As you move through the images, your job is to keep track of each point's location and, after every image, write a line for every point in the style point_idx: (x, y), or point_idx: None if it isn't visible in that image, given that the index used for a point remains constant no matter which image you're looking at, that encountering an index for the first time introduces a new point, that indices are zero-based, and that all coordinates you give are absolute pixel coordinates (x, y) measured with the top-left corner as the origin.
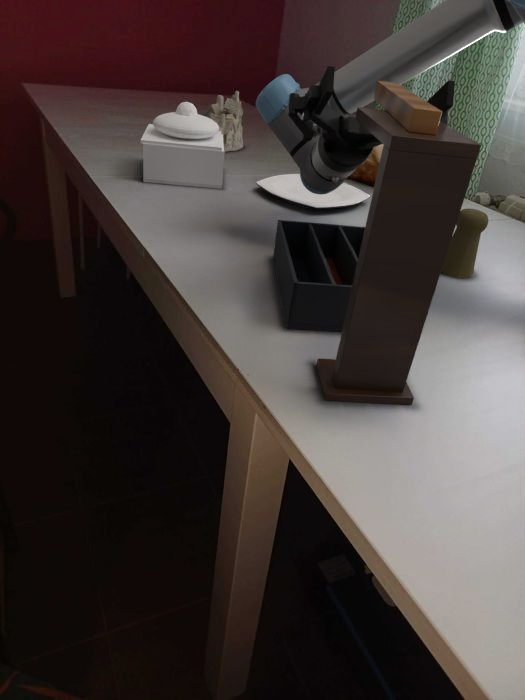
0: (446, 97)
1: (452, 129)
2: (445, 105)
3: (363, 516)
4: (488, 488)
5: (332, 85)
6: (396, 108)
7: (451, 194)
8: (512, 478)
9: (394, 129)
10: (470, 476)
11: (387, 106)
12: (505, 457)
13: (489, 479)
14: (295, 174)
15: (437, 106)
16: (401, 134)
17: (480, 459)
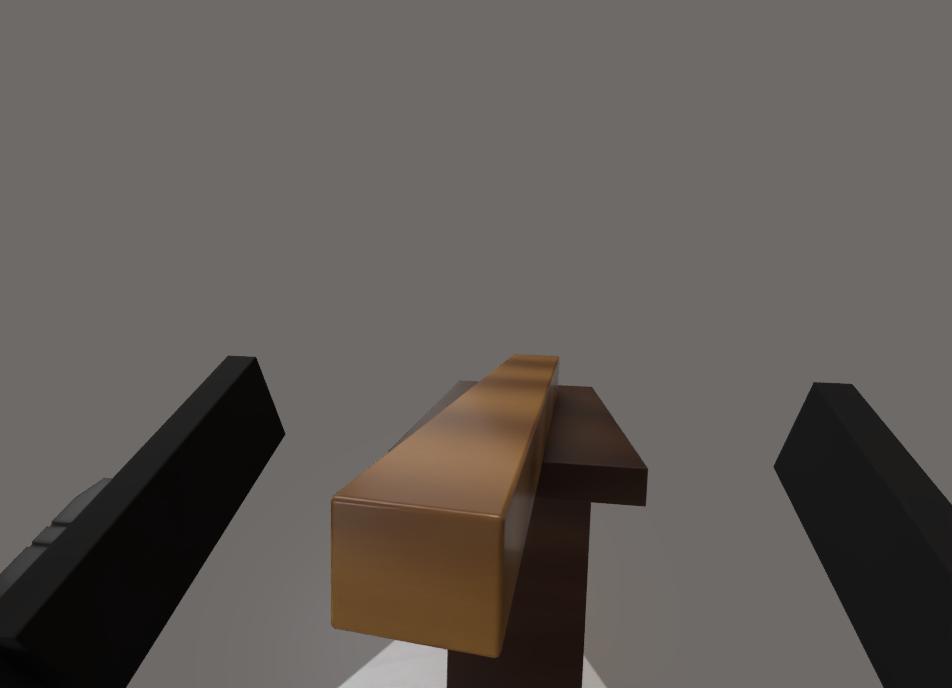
0: (275, 413)
1: (443, 401)
2: (280, 438)
3: None
4: (425, 645)
5: (789, 447)
6: (552, 400)
7: None
8: (389, 652)
9: (579, 395)
10: (433, 658)
11: (544, 441)
12: (371, 675)
13: (415, 653)
14: None
15: (228, 485)
16: (576, 388)
17: (405, 676)
